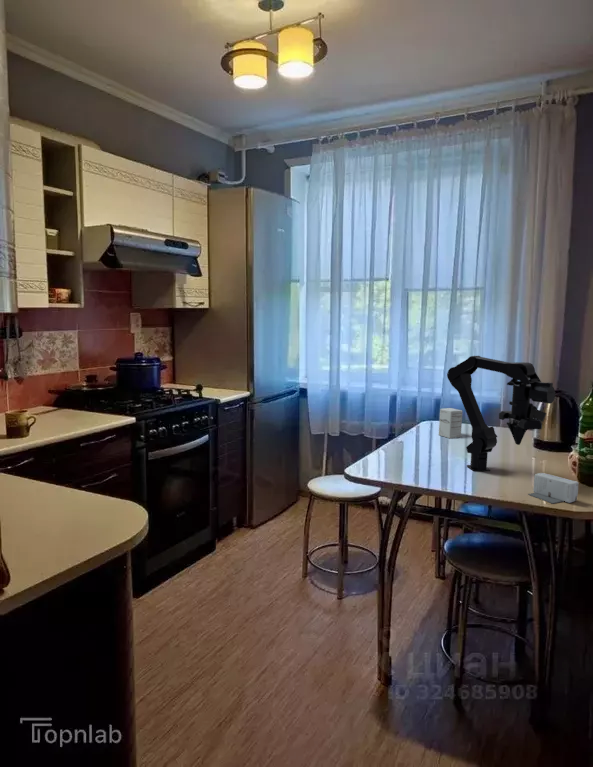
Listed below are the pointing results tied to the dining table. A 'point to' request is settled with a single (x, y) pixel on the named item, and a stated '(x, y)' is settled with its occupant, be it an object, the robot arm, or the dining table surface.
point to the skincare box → (556, 487)
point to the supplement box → (450, 422)
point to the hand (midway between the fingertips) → (517, 444)
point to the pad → (545, 498)
